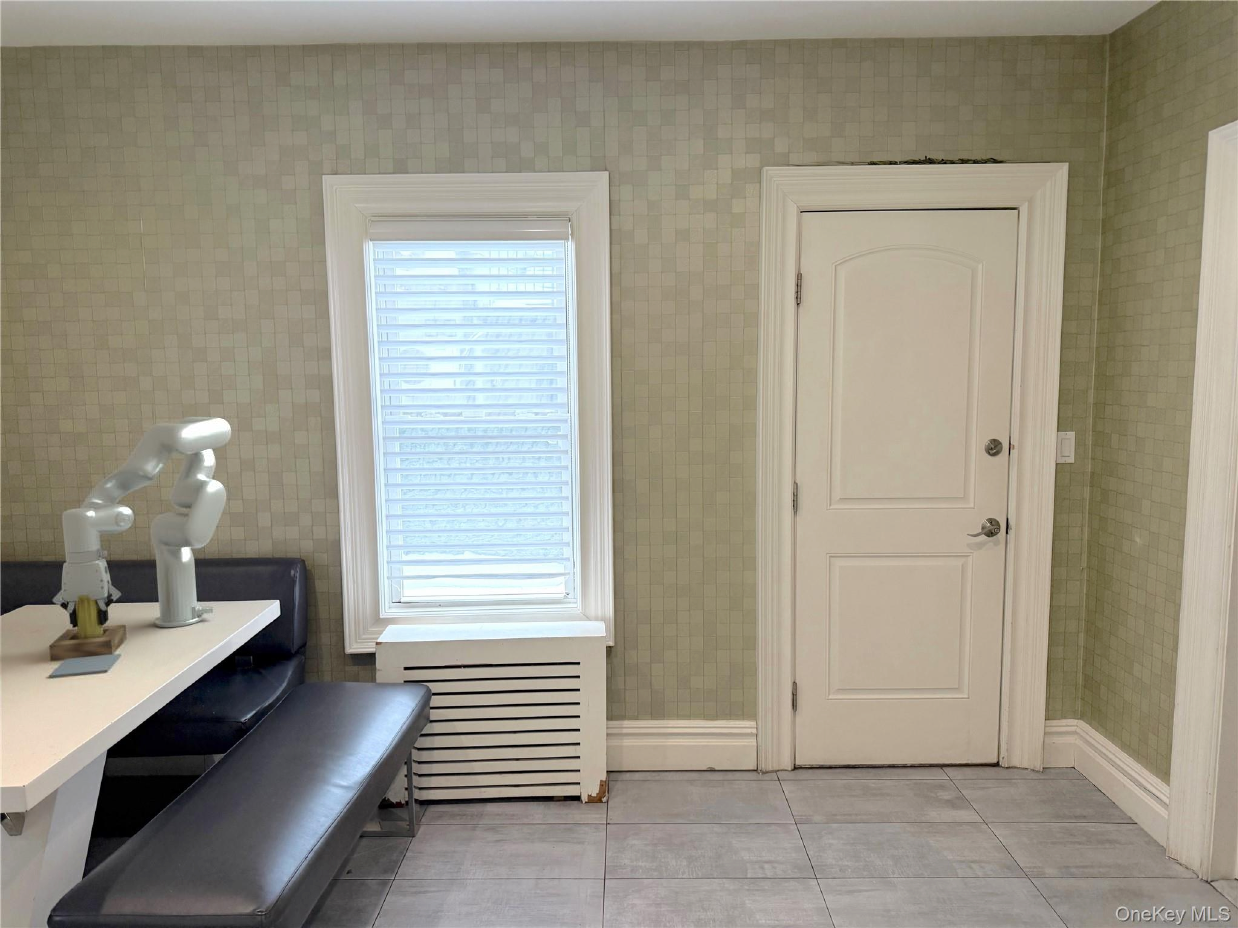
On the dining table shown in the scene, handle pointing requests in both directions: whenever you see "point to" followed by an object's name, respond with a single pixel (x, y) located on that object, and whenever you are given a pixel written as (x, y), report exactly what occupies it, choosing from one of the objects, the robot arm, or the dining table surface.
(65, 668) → the mat
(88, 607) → the vase
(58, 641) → the collar
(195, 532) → the robot arm
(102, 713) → the dining table surface
